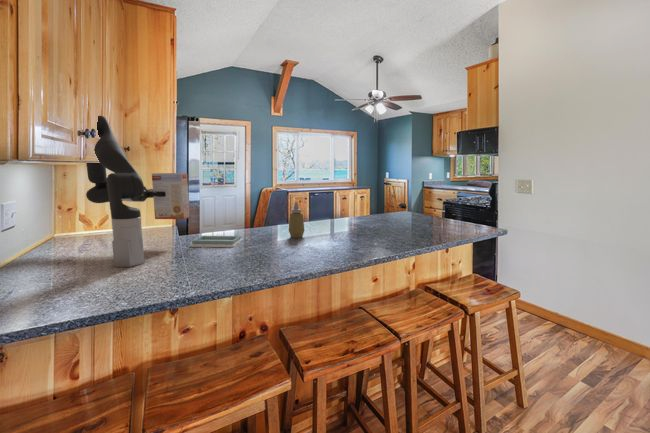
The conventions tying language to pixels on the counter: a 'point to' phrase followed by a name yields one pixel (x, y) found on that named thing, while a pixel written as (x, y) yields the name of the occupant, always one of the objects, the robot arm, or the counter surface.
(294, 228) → the squeeze bottle
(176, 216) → the cracker box
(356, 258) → the counter surface
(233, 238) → the docking plate
